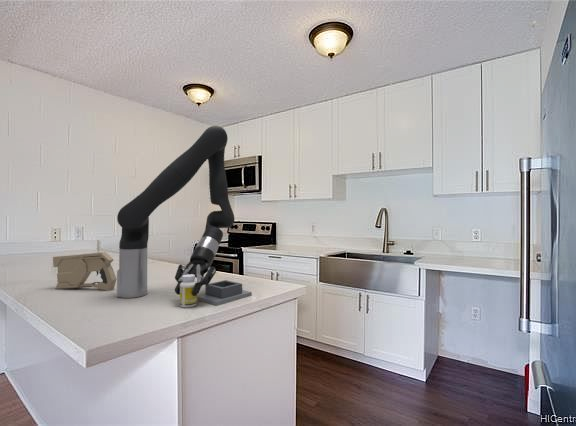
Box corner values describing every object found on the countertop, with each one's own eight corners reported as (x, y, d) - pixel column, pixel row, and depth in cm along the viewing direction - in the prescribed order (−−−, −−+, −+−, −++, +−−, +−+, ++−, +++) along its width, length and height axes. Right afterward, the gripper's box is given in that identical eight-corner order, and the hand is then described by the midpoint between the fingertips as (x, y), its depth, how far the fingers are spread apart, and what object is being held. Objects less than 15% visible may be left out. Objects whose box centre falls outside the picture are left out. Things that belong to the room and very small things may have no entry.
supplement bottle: (200, 303, 100) (200, 274, 100) (190, 308, 95) (190, 277, 95) (186, 302, 102) (186, 273, 102) (176, 306, 97) (176, 276, 97)
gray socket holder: (216, 305, 98) (216, 291, 98) (194, 299, 106) (194, 285, 106) (251, 295, 111) (251, 282, 111) (230, 290, 118) (230, 278, 118)
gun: (118, 288, 119) (115, 251, 119) (112, 291, 116) (109, 252, 116) (61, 292, 122) (58, 255, 122) (54, 294, 118) (51, 256, 118)
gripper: (183, 245, 108) (160, 286, 96) (219, 246, 104) (200, 289, 92) (191, 257, 113) (171, 298, 101) (226, 259, 109) (209, 301, 97)
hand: (185, 293), depth 97 cm, fingers closed on supplement bottle, 5 cm apart
